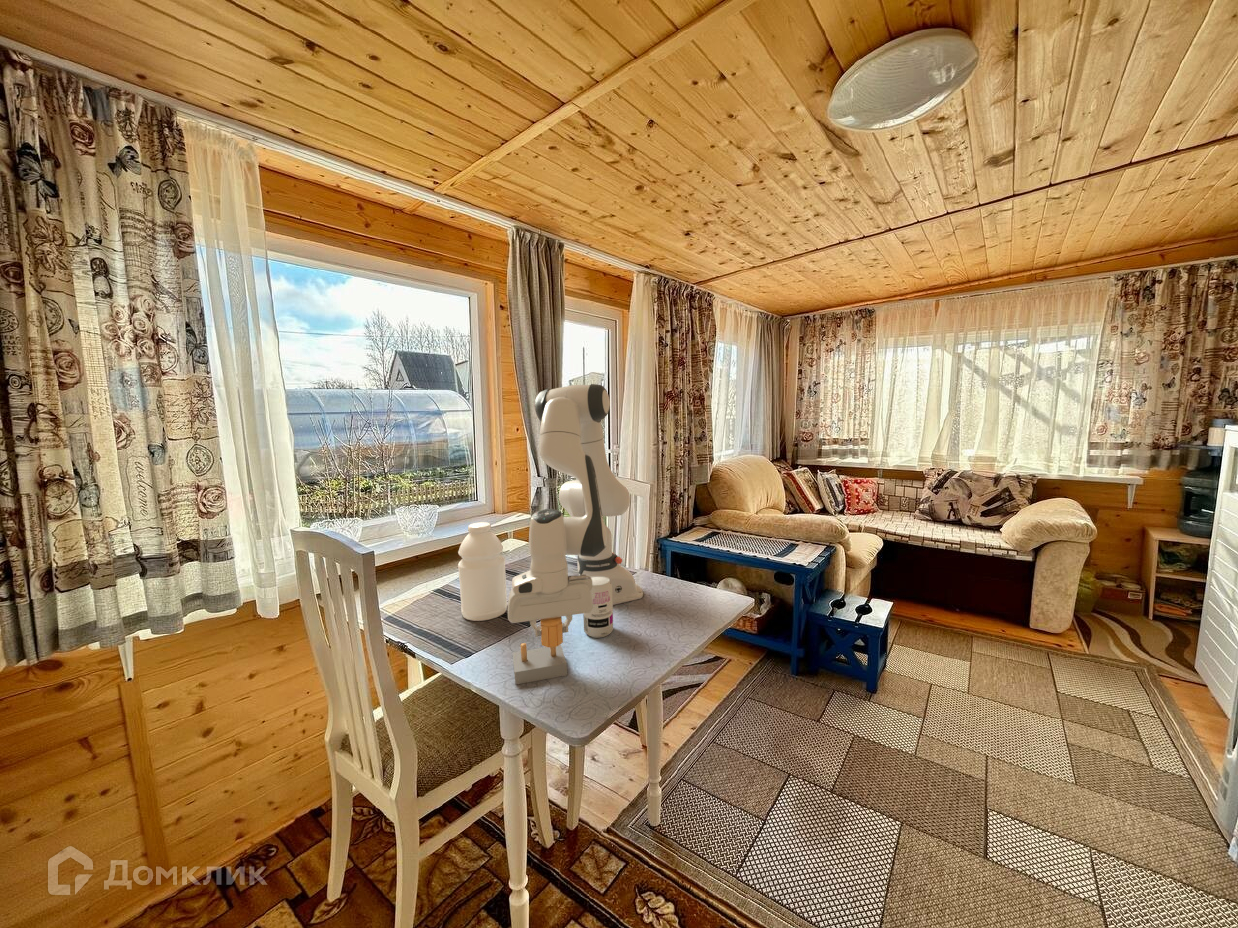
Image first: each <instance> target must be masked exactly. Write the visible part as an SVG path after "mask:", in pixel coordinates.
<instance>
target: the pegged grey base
mask: <svg viewBox="0 0 1238 928" xmlns="http://www.w3.org/2000/svg"><path fill="white" fill-rule="evenodd" d="M519 646H520V650H519V651H513V652H512V662H513V674H514V685H520V684H526V683H531V682H536V681H542V680H547V679H553V678H560V677H564V676H568V666H567V665H568V664H567V659H566V657H565V653H564V651H563V647H562V644H560V645H559V646H556V647H545V646H543V647H539V648H532V649H528V648H527V643H526V642H523V643H521V644H520V645H519Z"/></svg>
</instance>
